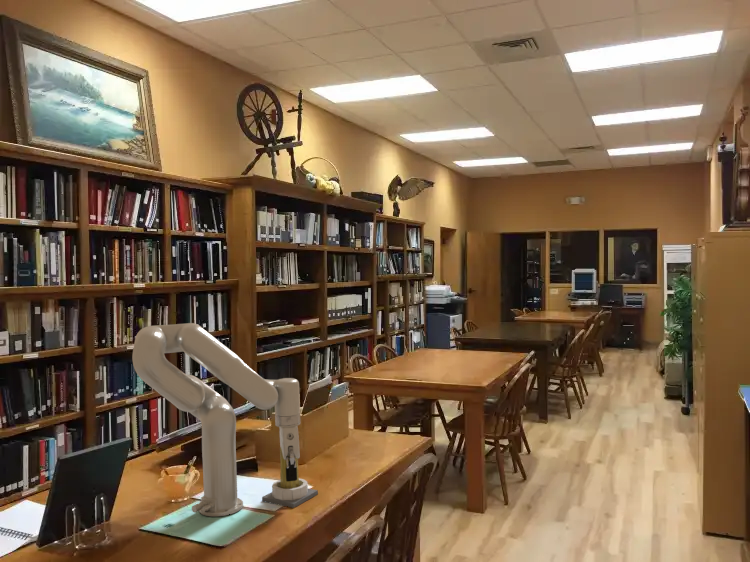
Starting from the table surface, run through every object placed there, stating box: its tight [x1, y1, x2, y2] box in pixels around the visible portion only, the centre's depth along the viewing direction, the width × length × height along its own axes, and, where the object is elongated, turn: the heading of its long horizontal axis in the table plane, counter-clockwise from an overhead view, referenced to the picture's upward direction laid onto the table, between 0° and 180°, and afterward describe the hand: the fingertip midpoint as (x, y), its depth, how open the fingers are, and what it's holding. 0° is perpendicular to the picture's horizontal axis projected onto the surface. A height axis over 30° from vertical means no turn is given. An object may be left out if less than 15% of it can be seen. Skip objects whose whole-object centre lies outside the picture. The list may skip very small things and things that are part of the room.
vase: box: [279, 447, 300, 489], centre depth 190 cm, size 6×6×14 cm
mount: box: [261, 477, 319, 509], centre depth 190 cm, size 12×12×4 cm
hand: (289, 475), depth 190 cm, fingers open, 9 cm apart
